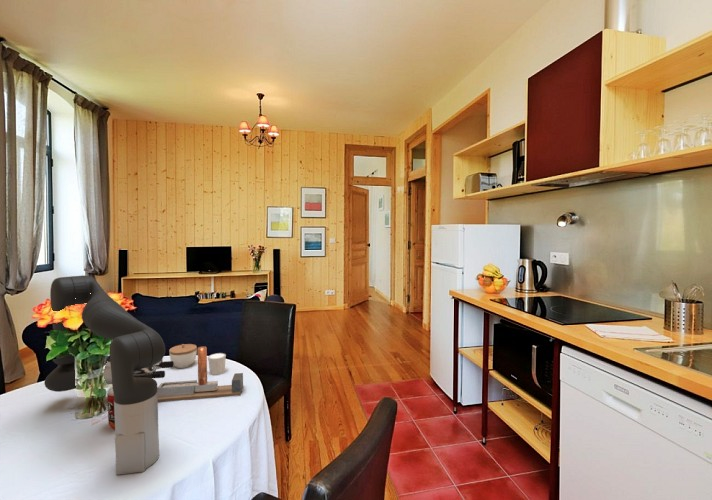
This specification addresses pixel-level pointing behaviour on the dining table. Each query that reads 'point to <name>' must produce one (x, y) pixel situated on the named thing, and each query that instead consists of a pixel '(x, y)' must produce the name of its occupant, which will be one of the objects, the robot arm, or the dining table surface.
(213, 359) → the beige cylindrical piece
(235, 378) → the socket block
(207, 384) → the sliding bolt with handle
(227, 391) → the plank
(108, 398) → the canned food
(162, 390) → the guide sleeve
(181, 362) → the lidded jar
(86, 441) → the dining table surface
